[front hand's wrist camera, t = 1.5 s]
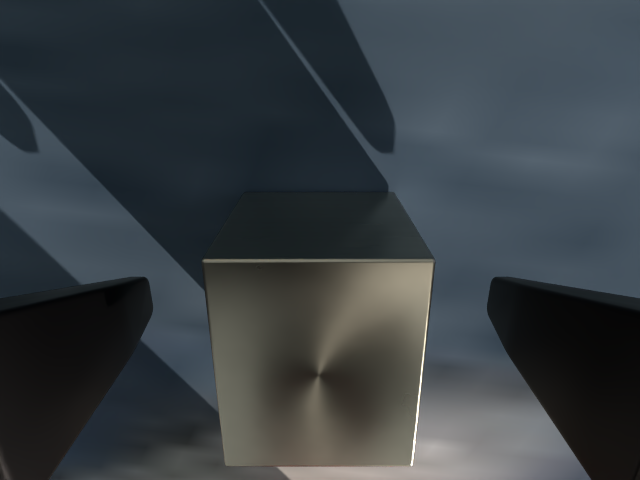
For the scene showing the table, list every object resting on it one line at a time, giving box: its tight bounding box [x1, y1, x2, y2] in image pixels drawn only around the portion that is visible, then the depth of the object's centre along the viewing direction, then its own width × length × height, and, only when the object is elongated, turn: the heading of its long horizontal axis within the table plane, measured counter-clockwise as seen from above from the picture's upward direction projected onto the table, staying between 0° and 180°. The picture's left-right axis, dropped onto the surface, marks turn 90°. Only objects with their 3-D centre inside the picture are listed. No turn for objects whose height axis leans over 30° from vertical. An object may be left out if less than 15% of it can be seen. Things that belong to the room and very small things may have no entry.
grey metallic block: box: [201, 192, 435, 466], centre depth 10 cm, size 5×4×4 cm
